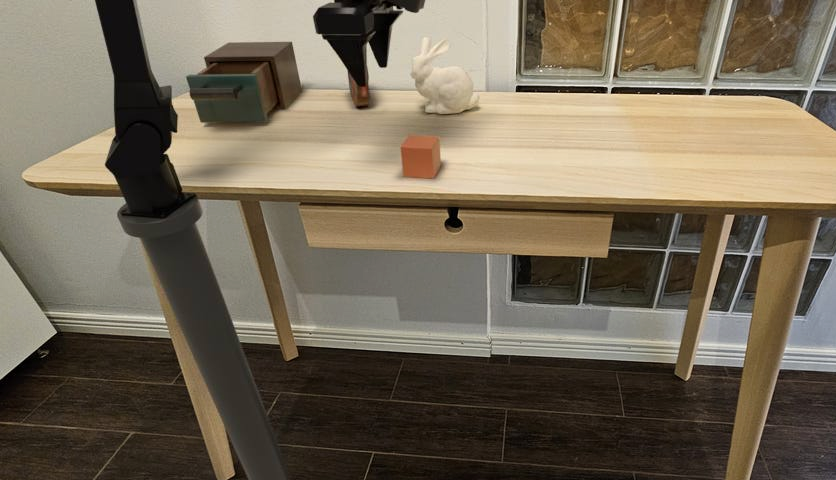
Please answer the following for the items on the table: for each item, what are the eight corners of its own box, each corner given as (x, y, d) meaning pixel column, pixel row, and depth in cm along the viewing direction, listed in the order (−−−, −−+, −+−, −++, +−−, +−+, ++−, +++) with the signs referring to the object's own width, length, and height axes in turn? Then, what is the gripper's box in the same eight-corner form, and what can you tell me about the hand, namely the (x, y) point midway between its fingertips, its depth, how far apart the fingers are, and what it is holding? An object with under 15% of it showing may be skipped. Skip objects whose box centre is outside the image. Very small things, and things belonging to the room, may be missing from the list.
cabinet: (285, 109, 101) (273, 56, 95) (219, 110, 101) (203, 57, 95) (302, 91, 110) (292, 41, 105) (241, 91, 110) (228, 42, 105)
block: (433, 178, 75) (431, 148, 73) (403, 176, 76) (400, 146, 74) (441, 165, 79) (439, 136, 76) (411, 163, 80) (409, 134, 77)
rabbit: (411, 115, 97) (405, 45, 90) (421, 99, 105) (416, 33, 98) (477, 116, 96) (476, 46, 89) (482, 100, 104) (482, 34, 97)
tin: (348, 90, 110) (342, 47, 106) (364, 88, 111) (358, 45, 106) (357, 113, 99) (350, 65, 94) (374, 111, 99) (368, 64, 95)
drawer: (256, 131, 89) (244, 83, 85) (188, 132, 89) (172, 84, 85) (283, 102, 101) (273, 59, 97) (223, 103, 101) (211, 60, 97)
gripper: (398, -50, 56) (412, 99, 65) (436, -64, 71) (444, 59, 80) (298, -49, 57) (326, 97, 67) (356, -62, 72) (373, 58, 81)
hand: (373, 76), depth 74 cm, fingers open, 9 cm apart
